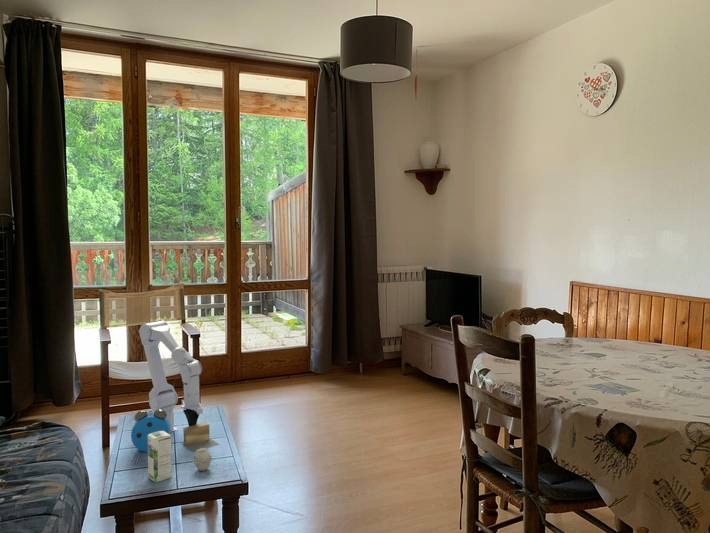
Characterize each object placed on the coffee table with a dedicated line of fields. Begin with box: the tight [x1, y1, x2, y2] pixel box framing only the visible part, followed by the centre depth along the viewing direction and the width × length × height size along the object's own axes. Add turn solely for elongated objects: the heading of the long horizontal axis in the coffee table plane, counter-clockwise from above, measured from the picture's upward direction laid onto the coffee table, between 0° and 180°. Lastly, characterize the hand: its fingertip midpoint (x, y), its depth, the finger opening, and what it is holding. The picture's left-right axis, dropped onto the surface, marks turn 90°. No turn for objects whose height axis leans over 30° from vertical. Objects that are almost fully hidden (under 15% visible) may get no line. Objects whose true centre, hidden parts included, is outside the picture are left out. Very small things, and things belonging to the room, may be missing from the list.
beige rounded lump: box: [192, 448, 213, 472], centre depth 181 cm, size 6×7×7 cm
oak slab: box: [183, 421, 211, 446], centre depth 203 cm, size 3×9×6 cm, turn 131°
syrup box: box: [147, 431, 173, 483], centre depth 175 cm, size 6×6×14 cm
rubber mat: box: [180, 438, 220, 453], centre depth 202 cm, size 12×10×1 cm
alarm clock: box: [130, 409, 172, 453], centre depth 197 cm, size 13×6×15 cm, turn 102°
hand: (192, 427), depth 206 cm, fingers closed
